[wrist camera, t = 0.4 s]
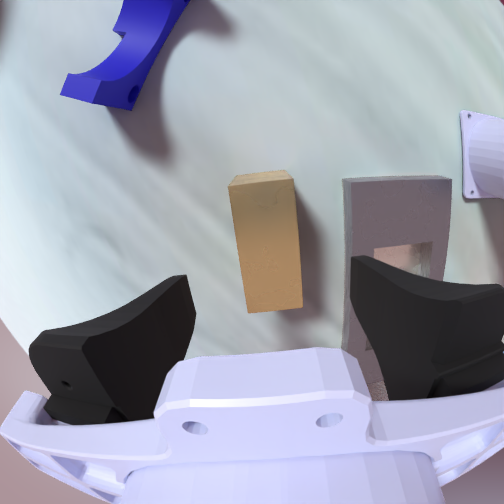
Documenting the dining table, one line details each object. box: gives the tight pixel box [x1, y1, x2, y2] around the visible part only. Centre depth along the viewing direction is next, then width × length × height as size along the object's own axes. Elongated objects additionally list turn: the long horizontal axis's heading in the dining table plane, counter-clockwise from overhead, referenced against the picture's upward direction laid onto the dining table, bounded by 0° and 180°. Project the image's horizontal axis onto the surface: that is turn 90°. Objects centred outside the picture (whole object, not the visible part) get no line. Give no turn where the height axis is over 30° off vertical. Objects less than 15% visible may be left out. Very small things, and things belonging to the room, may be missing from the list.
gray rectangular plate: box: [341, 175, 452, 384], centre depth 22 cm, size 9×20×2 cm, turn 7°
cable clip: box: [60, 0, 190, 111], centre depth 13 cm, size 12×4×6 cm, turn 155°
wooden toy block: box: [228, 170, 303, 313], centre depth 19 cm, size 4×8×6 cm, turn 7°
